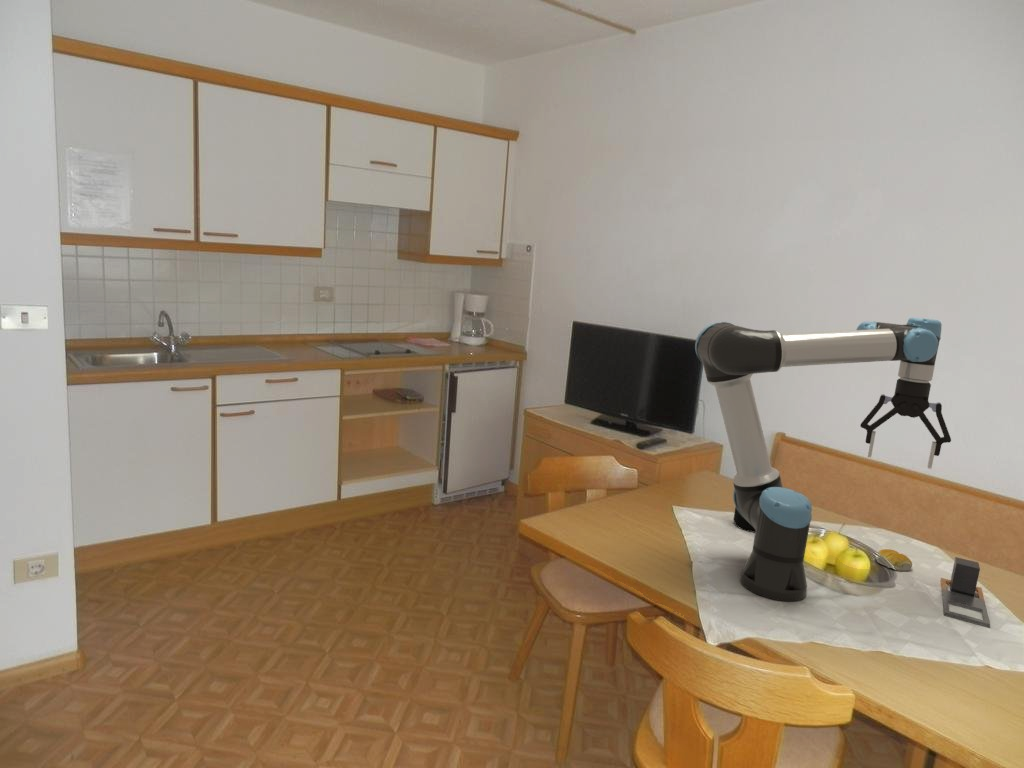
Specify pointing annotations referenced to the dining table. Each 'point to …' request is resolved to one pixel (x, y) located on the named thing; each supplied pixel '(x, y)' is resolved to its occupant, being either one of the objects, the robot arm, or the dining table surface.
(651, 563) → the dining table surface
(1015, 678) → the dining table surface
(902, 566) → the bread roll
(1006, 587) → the dining table surface
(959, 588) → the block
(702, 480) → the dining table surface
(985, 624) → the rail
